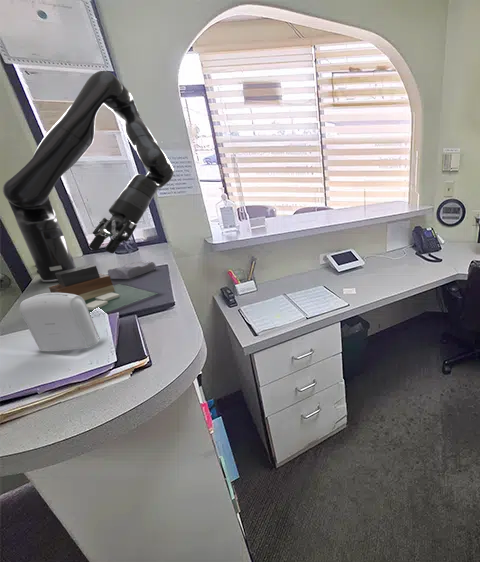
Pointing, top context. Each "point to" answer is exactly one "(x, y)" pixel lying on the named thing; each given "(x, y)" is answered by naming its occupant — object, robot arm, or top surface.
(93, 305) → the chalk smudge
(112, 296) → the chalk smudge
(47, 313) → the photo printer
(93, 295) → the eraser
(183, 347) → the top surface
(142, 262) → the stone block
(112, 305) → the chalkboard
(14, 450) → the top surface
